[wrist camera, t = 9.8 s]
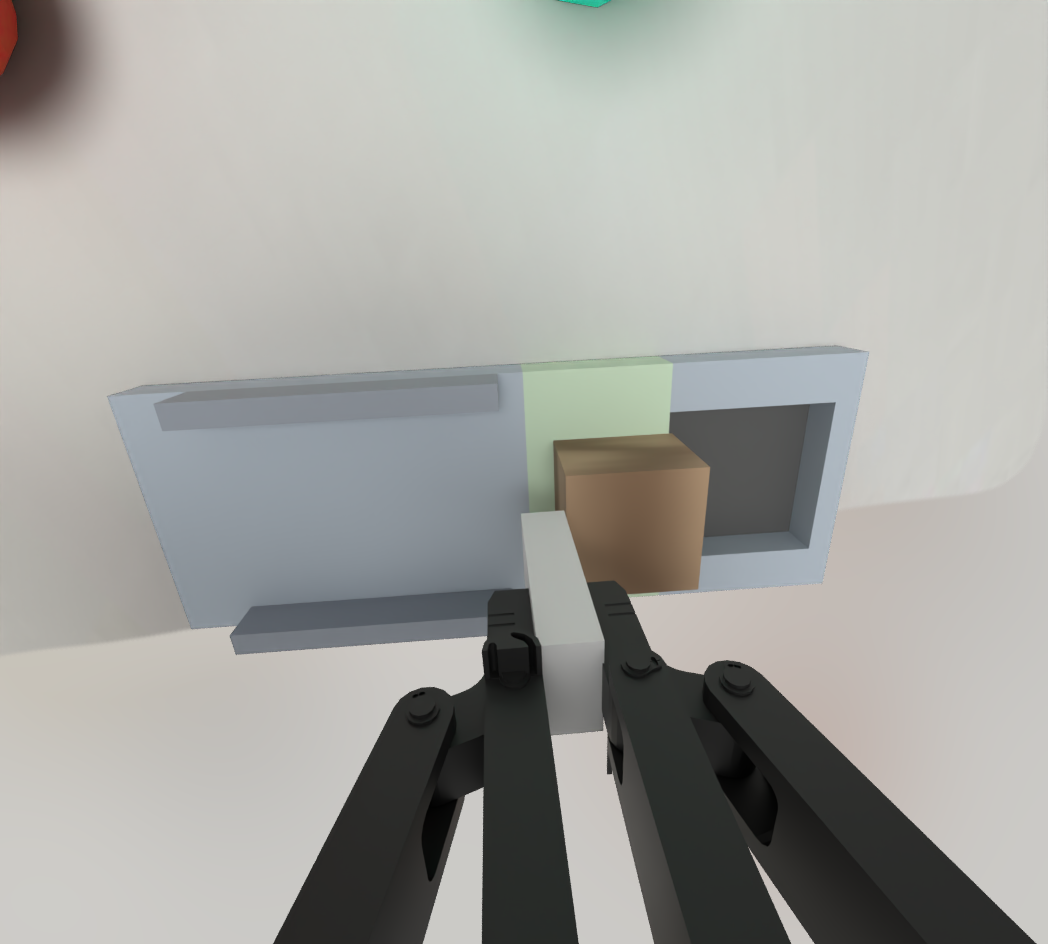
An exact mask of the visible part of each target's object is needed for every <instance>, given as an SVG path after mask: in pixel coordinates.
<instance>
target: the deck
mask: <svg viewBox="0 0 1048 944" xmlns="http://www.w3.org/2000/svg"><path fill="white" fill-rule="evenodd" d="M868 356H869V352H867V351H862V350H857V349H852V348H847V347H842V346H824V347H806V348H789V349H771V350H754V351H737V352H719V353H702V354H685V355H667V356H650V357H633V358H615V359H598V360H580V361H563V362H546V363H528V364H511V365H494V366H476V367H459V368H442V369H424V370H407V371H389V372H372V373H355V374H337V375H320V376H303V377H285V378H268V379H251V380H233V381H216V382H198V383H181V384H164V385H146V386H139V387H136V388H133V389H129V390H126V391H123V392H120V393H116V394H113V395H110V396H107V397H108V400H109V403H110V406H111V408H112V411H113V414H114V417H115V419H116V422H117V425H118V428H119V430H120V433H121V436H122V439H123V441H124V444H125V447H126V450H127V453H128V455H129V458H130V461H131V464H132V466H133V469H134V472H135V475H136V477H137V480H138V483H139V486H140V488H141V491H142V494H143V497H144V499H145V502H146V505H147V508H148V511H149V513H150V516H151V519H152V522H153V524H154V527H155V530H156V533H157V535H158V538H159V541H160V544H161V546H162V549H163V552H164V555H165V558H166V560H167V563H168V566H169V569H170V571H171V574H172V577H173V580H174V582H175V585H176V588H177V591H178V593H179V596H180V599H181V602H182V604H183V607H184V610H185V613H186V616H187V618H188V621H189V624H190V627H191V629H200V628H213V627H227V626H237V627H236V628H235V629H234V631H233V632H232V633H231V635H230V638H231V641H232V644H233V647H234V650H235V654H236V655H237V654H250V653H263V652H277V651H290V650H304V649H317V648H331V647H344V646H357V645H371V644H385V643H398V642H410V641H411V642H412V641H425V640H439V639H451V638H465V637H479V636H487V617H488V615H487V612H488V601H489V599H490V598H491V596H492V594H493V593H494V591H499V590H512V589H525V580H524V562H523V544H522V527H521V513H535V512H549V511H555V490H554V452H553V440H569V439H586V438H602V437H619V436H635V435H652V434H668V433H672V434H673V435H674V436H676V437H677V438H678V439H679V440H680V441H681V442H682V443H683V444H685V445H686V446H687V447H688V448H689V449H690V450H691V451H693V452H694V453H695V454H696V455H697V456H698V457H699V458H700V459H702V460H703V461H704V462H705V463H706V464H707V465H708V466H710V474H709V484H708V495H707V505H706V515H705V525H704V536H703V546H702V556H701V566H700V577H699V587H698V589H697V590H683V591H669V592H655V593H641V594H627V595H628V597H639V596H654V595H667V594H681V593H695V592H708V591H722V590H736V589H750V588H764V587H778V586H792V585H805V584H818V583H822V582H823V577H824V572H825V568H826V563H827V558H828V553H829V548H830V543H831V538H832V533H833V528H834V523H835V518H836V513H837V508H838V504H839V499H840V494H841V489H842V484H843V479H844V474H845V469H846V464H847V459H848V454H849V449H850V444H851V440H852V435H853V430H854V425H855V420H856V415H857V410H858V405H859V400H860V395H861V390H862V385H863V380H864V376H865V371H866V366H867V361H868Z"/></svg>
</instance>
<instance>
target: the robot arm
mask: <svg viewBox="0 0 1048 944" xmlns="http://www.w3.org/2000/svg"><path fill="white" fill-rule="evenodd" d="M521 527H522V544H523V562H524V580H525V589H512V590H499V591H494V593H493V594H492V596H491V598H490V599H489V601H488V612H487V615H488V617H487V640H486V641H485V643H484V645H483V649H482V657H483V667H484V676H483V677H482V679H481V680H480V681H479V682H478V683H477V684H476V685H474V686H473V687H472V688H470V689H468V690H466V691H464V692H461V693H459V694H456V695H453V696H450V695H449V694H447V693H446V692H445V691H444V690H441V689H438V688H435V687H426V688H420V689H417V690H414V691H411V692H409V693H408V694H407V695H405V696H404V697H402V698H401V699H400V700H399V702H398V703H397V704H396V705H395V707H394V708H393V710H392V712H391V714H390V716H389V718H388V720H387V722H386V724H385V726H384V728H383V730H382V732H381V734H380V736H379V738H378V740H377V742H376V744H375V745H374V748H373V749H372V751H371V753H370V755H369V757H368V759H367V761H366V763H365V765H364V767H363V769H362V771H361V773H360V775H359V777H358V779H357V781H356V783H355V785H354V787H353V789H352V790H351V793H350V795H349V797H348V798H347V800H346V802H345V804H344V806H343V808H342V810H341V812H340V814H339V816H338V818H337V820H336V822H335V824H334V826H333V828H332V830H331V832H330V834H329V836H328V837H327V840H326V842H325V843H324V845H323V847H322V849H321V851H320V853H319V855H318V857H317V859H316V861H315V863H314V865H313V867H312V869H311V871H310V873H309V875H308V877H307V879H306V880H305V882H304V884H303V886H302V888H301V890H300V892H299V894H298V896H297V898H296V900H295V902H294V904H293V906H292V908H291V910H290V912H289V914H288V916H287V918H286V920H285V922H284V924H283V926H282V928H281V929H280V931H279V933H278V935H277V937H276V939H275V941H274V943H273V944H423V941H424V937H425V934H426V930H427V927H428V923H429V920H430V916H431V913H432V909H433V906H434V903H435V899H436V896H437V892H438V889H439V885H440V882H441V878H442V875H443V871H444V868H445V865H446V861H447V858H448V854H449V851H450V847H451V844H452V841H453V837H454V834H455V830H456V827H457V823H458V820H459V816H460V813H461V809H462V806H463V803H464V797H465V795H466V794H469V793H471V792H473V791H476V790H478V789H480V788H483V787H484V796H483V888H482V899H483V900H482V944H579V943H578V935H577V928H576V920H575V913H574V905H573V898H572V890H571V883H570V876H569V868H568V861H567V853H566V846H565V838H564V830H563V823H562V815H561V808H560V801H559V793H558V786H557V778H556V772H555V764H554V756H553V748H552V741H551V735H561V734H572V733H584V732H595V731H603V717H604V721H605V725H606V729H607V732H608V744H607V774H612V771H613V775H614V780H615V784H616V788H617V792H618V796H619V800H620V804H621V808H622V813H623V817H624V821H625V825H626V829H627V833H628V837H629V841H630V846H631V850H632V854H633V858H634V862H635V866H636V870H637V874H638V879H639V883H640V886H641V891H642V895H643V899H644V903H645V907H646V912H647V915H648V920H649V924H650V928H651V932H652V936H653V940H654V944H791V942H790V940H789V938H788V935H787V933H786V931H785V929H784V927H783V924H782V922H781V920H780V918H779V915H778V913H777V911H776V909H775V906H774V904H773V902H772V900H771V898H770V895H769V893H768V891H767V888H766V886H765V884H764V882H763V880H762V877H761V875H760V873H759V871H758V868H757V866H756V864H755V862H754V860H753V857H752V855H751V853H750V850H751V852H752V853H753V854H754V856H755V857H756V859H757V860H758V862H759V863H760V865H761V866H762V868H763V869H764V870H765V872H766V873H767V875H768V876H769V878H770V879H771V881H772V882H773V884H774V885H775V887H776V888H777V889H778V891H779V892H780V894H781V895H782V897H783V898H784V900H785V901H786V902H787V904H788V905H789V907H790V908H791V910H792V911H793V913H794V914H795V916H796V917H797V919H798V920H799V922H800V923H801V924H802V926H803V927H804V929H805V930H806V932H807V933H808V935H809V936H810V938H811V939H812V940H813V942H814V943H815V944H1036V943H1035V942H1034V941H1033V940H1032V939H1031V938H1030V937H1029V936H1028V935H1027V934H1026V933H1025V932H1024V931H1023V930H1022V929H1021V928H1020V927H1019V926H1018V925H1016V923H1015V922H1014V921H1013V920H1011V918H1009V917H1008V916H1007V915H1006V914H1005V913H1004V912H1003V911H1002V910H1001V909H1000V908H999V907H998V906H997V905H996V904H995V903H994V902H993V901H992V900H991V899H990V898H989V897H988V896H987V895H986V894H985V893H984V892H983V891H982V890H981V889H980V888H979V887H978V886H977V885H976V884H975V883H974V882H973V881H972V880H971V879H970V878H969V877H968V876H967V875H966V874H965V873H963V871H962V870H960V869H959V868H958V867H957V866H956V865H955V864H954V863H953V862H952V861H951V860H950V859H949V858H948V857H947V856H946V855H945V854H944V853H943V852H942V851H941V850H940V849H939V848H938V847H937V846H936V845H935V844H934V843H933V842H932V841H931V840H930V839H929V838H927V836H926V835H925V834H924V833H923V832H922V831H921V830H920V829H919V828H918V827H917V826H916V825H915V824H914V823H913V822H912V821H910V820H909V819H908V818H907V817H906V816H905V815H904V814H903V813H902V812H901V811H900V810H899V809H898V808H897V807H896V806H895V805H894V804H893V803H892V802H891V801H890V800H889V799H888V798H887V797H886V796H885V795H884V794H883V793H882V792H881V791H880V790H879V789H878V788H877V787H876V786H875V785H874V784H873V783H872V782H871V781H870V780H869V779H867V777H866V776H865V775H864V774H862V773H861V772H860V771H859V770H858V769H857V768H856V767H855V766H854V765H853V764H852V763H851V762H850V761H849V760H848V759H847V758H846V757H845V756H844V755H843V754H842V753H841V752H840V751H839V750H838V749H837V748H836V747H835V746H834V745H833V744H832V743H831V742H830V741H829V740H828V739H827V738H826V737H825V736H824V735H823V734H822V733H821V732H820V731H818V730H817V728H815V726H814V725H812V724H811V723H810V722H809V721H808V720H807V719H806V718H805V717H804V716H803V715H802V714H801V713H800V712H799V711H798V710H797V709H796V708H795V707H794V706H793V705H792V704H791V703H790V702H789V701H788V700H787V699H786V698H785V697H784V696H783V695H782V694H781V693H780V692H779V691H778V690H777V689H776V688H775V687H774V686H773V685H772V684H771V683H770V682H769V681H768V680H767V679H765V678H764V677H763V676H762V675H761V674H760V673H759V672H757V671H756V670H755V669H753V668H752V667H750V666H748V665H745V664H743V663H740V662H735V661H728V660H726V661H717V662H715V663H713V664H711V665H709V666H708V668H707V670H706V671H705V673H704V675H701V674H696V673H689V672H684V671H680V670H676V669H674V668H672V667H669V666H667V665H666V663H665V662H664V660H663V659H662V658H661V657H660V656H659V655H658V654H656V653H655V652H653V651H652V650H651V648H650V646H649V644H648V641H647V639H646V637H645V634H644V632H643V630H642V628H641V625H640V623H639V620H638V618H637V616H636V614H635V611H634V609H633V606H632V605H631V602H630V599H629V597H628V595H627V592H626V590H625V589H624V588H622V587H621V586H620V585H619V584H618V583H617V582H616V581H614V580H613V581H600V582H587V583H586V579H585V576H584V573H583V570H582V567H581V563H580V560H579V557H578V554H577V550H576V547H575V544H574V541H573V538H572V534H571V531H570V528H569V525H568V522H567V518H566V515H565V512H564V510H563V511H549V512H535V513H521ZM748 847H749V848H750V850H749V848H748Z"/></svg>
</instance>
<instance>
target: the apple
mask: <svg viewBox="0 0 1048 944" xmlns="http://www.w3.org/2000/svg"><path fill="white" fill-rule="evenodd" d="M17 40H18V34H17V17H16V12H15V9H14V6H13V3H12V0H0V75H1V74H3V73H4V70H5V68H6V66H7V63H8V61H9V59H10V56H11V54H12V51H13V49H14V47H15V44H16V42H17Z"/></svg>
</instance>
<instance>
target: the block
mask: <svg viewBox="0 0 1048 944" xmlns="http://www.w3.org/2000/svg"><path fill="white" fill-rule="evenodd" d="M553 452H554V490H555V511H563V510H564V512H565V515H566V518H567V522H568V525H569V528H570V531H571V534H572V538H573V541H574V544H575V547H576V550H577V554H578V557H579V560H580V563H581V567H582V570H583V573H584V576H585V579H586V583H587V582H600V581H613V580H614V581H616V582H617V583H618V584H619V585H620V586H621V587H622V588H624V589H625V590H626V592H627V594H641V593H655V592H669V591H683V590H697V589H698V587H699V577H700V566H701V556H702V546H703V536H704V525H705V515H706V505H707V495H708V484H709V474H710V466H708V465H707V464H706V463H705V462H704V461H703V460H702V459H700V458H699V457H698V456H697V455H696V454H695V453H694V452H693V451H691V450H690V449H689V448H688V447H687V446H686V445H685V444H683V443H682V442H681V441H680V440H679V439H678V438H677V437H676V436H674V435H673V434H672V433H668V434H652V435H635V436H619V437H602V438H586V439H569V440H553Z"/></svg>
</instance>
